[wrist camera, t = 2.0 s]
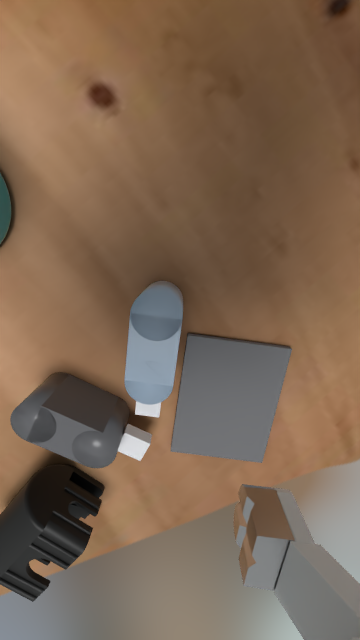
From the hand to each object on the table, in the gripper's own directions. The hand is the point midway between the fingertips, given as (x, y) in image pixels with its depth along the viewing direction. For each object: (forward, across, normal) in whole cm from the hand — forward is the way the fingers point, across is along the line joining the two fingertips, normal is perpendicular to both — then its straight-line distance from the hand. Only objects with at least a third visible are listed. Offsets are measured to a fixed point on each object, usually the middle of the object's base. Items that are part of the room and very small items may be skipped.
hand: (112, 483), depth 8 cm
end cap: (+16, +9, +20) cm, 27 cm away
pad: (+15, -7, +6) cm, 18 cm away
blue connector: (+15, 0, +1) cm, 15 cm away
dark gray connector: (+16, +5, +8) cm, 18 cm away
